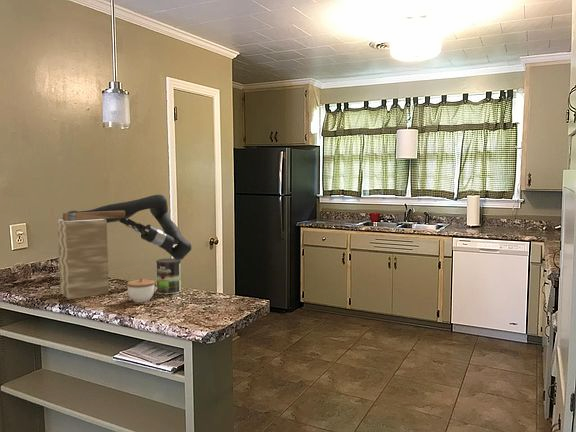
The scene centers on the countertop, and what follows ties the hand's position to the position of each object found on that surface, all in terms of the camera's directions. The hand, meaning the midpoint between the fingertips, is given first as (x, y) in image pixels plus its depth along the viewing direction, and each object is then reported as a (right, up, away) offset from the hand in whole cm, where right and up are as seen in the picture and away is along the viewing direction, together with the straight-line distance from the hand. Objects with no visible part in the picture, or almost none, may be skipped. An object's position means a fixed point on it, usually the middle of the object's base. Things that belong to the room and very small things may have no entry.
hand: (123, 220), depth 212 cm
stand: (-14, -32, -9) cm, 36 cm away
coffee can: (+23, -32, -7) cm, 40 cm away
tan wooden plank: (-10, +1, -8) cm, 13 cm away
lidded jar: (+15, -33, -22) cm, 42 cm away
